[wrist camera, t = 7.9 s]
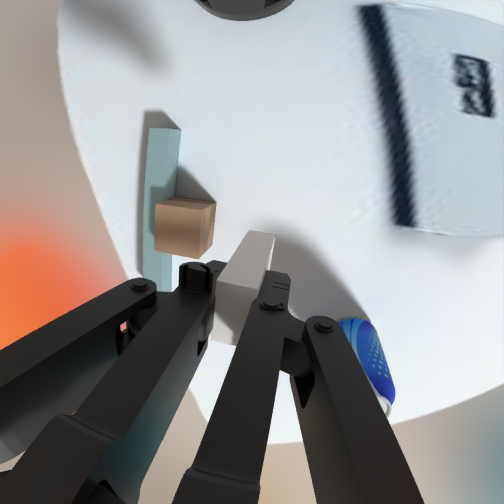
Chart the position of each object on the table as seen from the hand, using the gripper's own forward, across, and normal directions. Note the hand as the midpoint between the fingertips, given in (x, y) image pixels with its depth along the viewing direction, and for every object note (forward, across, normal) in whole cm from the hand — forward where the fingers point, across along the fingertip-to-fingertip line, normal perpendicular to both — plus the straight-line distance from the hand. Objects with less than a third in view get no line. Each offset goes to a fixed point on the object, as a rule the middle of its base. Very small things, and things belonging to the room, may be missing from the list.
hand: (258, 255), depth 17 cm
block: (+22, -12, -6) cm, 25 cm away
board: (+22, -16, -6) cm, 28 cm away
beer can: (+22, +14, -19) cm, 32 cm away
